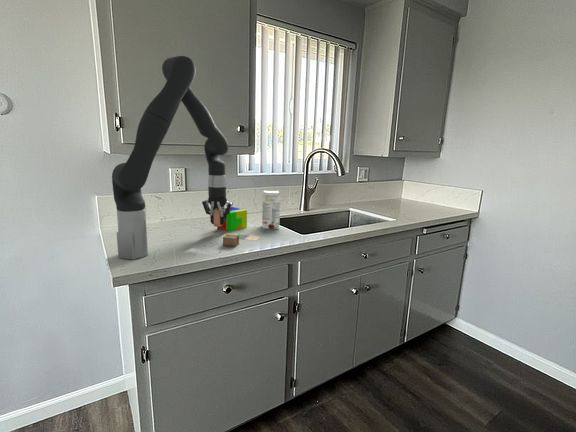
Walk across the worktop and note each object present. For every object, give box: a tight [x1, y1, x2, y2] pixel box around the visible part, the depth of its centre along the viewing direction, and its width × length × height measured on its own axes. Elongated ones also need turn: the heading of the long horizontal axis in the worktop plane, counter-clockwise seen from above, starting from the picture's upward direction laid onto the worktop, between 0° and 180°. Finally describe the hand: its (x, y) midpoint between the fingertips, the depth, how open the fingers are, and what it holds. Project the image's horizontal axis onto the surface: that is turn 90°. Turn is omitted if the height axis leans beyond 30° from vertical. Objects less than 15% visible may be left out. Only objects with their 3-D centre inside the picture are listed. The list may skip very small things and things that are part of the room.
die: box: [222, 233, 240, 248], centre depth 131 cm, size 5×5×5 cm
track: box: [209, 231, 262, 242], centre depth 144 cm, size 7×22×1 cm, turn 78°
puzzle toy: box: [216, 206, 248, 232], centre depth 158 cm, size 10×10×10 cm
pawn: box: [213, 208, 222, 228], centre depth 144 cm, size 4×4×8 cm
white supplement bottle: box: [261, 190, 281, 230], centre depth 160 cm, size 8×9×19 cm
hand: (217, 224), depth 144 cm, fingers closed on pawn, 3 cm apart
